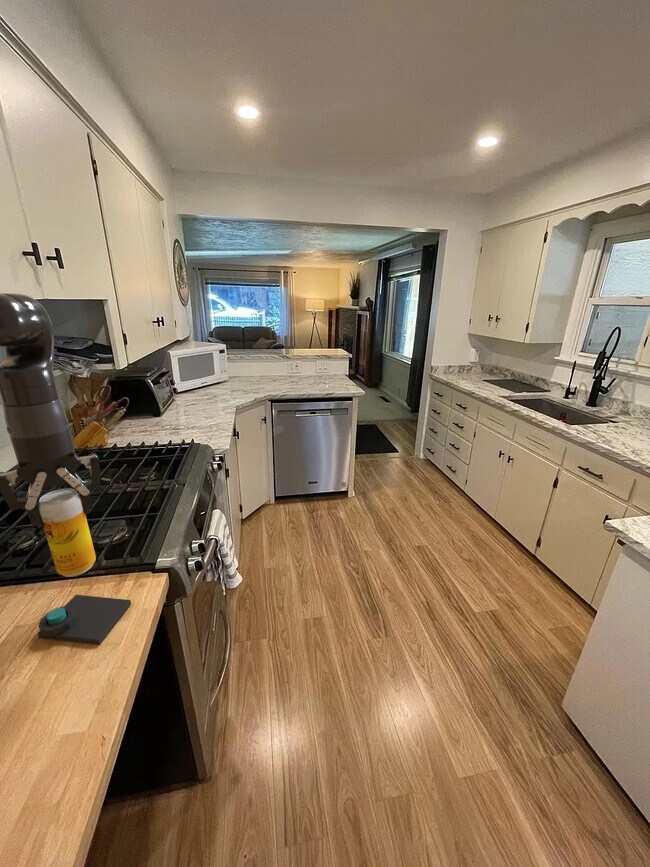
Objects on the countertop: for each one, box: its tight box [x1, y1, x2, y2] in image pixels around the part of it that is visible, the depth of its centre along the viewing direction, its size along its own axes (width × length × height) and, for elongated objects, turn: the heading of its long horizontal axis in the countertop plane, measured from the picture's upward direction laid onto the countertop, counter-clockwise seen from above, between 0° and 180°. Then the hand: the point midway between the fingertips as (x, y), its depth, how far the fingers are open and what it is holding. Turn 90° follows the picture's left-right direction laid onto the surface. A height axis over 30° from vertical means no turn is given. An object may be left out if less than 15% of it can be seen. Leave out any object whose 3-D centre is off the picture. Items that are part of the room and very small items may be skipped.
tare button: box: [47, 606, 67, 625], centre depth 72 cm, size 3×3×2 cm
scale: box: [37, 594, 132, 646], centre depth 74 cm, size 13×10×3 cm
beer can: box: [38, 488, 97, 578], centre depth 63 cm, size 6×6×15 cm
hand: (64, 518), depth 62 cm, fingers closed on beer can, 6 cm apart
